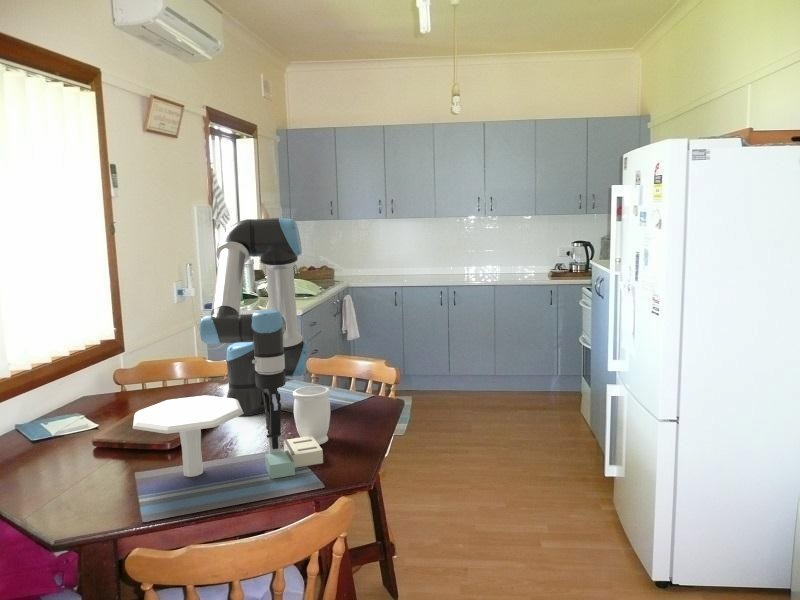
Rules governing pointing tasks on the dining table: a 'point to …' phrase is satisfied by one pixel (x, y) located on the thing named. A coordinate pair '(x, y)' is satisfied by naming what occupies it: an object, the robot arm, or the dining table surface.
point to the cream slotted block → (304, 451)
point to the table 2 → (188, 423)
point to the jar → (312, 412)
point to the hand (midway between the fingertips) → (275, 459)
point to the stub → (279, 464)
